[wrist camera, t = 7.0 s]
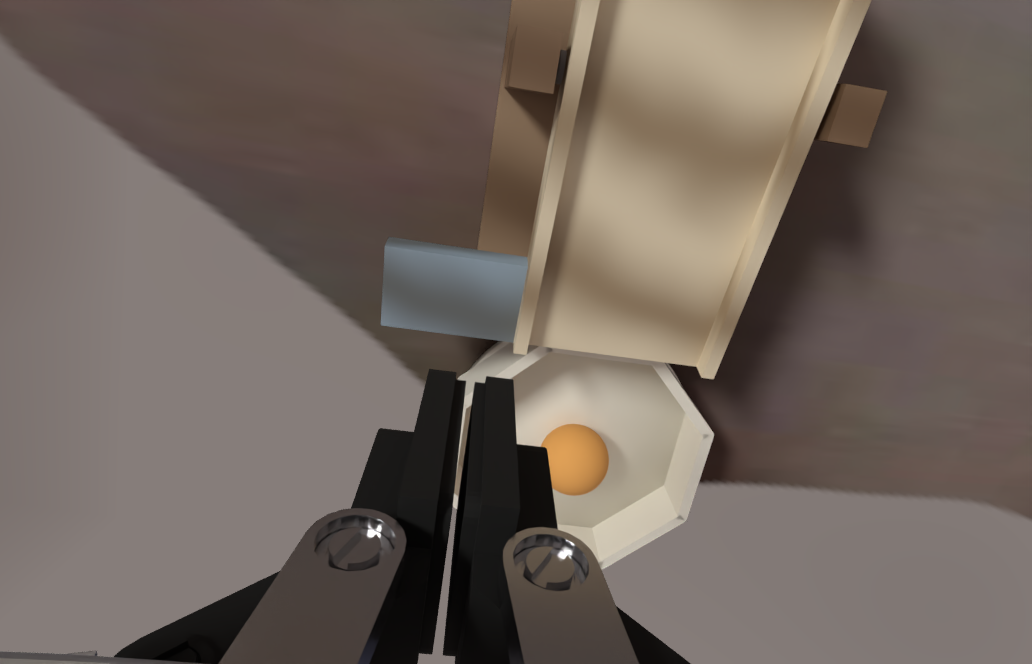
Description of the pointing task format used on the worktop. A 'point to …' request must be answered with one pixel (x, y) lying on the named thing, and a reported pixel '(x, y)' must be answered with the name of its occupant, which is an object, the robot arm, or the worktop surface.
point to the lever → (647, 183)
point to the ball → (576, 459)
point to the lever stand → (530, 112)
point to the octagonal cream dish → (606, 438)
